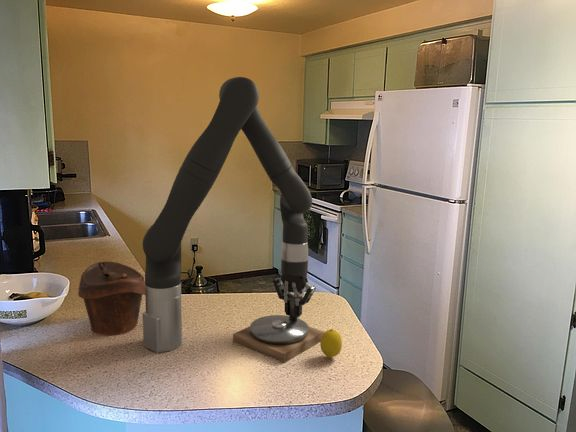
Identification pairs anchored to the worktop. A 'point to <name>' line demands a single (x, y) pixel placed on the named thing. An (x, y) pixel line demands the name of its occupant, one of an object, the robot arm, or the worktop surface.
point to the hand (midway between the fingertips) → (293, 315)
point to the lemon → (331, 343)
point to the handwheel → (280, 327)
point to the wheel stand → (278, 350)
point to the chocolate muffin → (112, 297)
